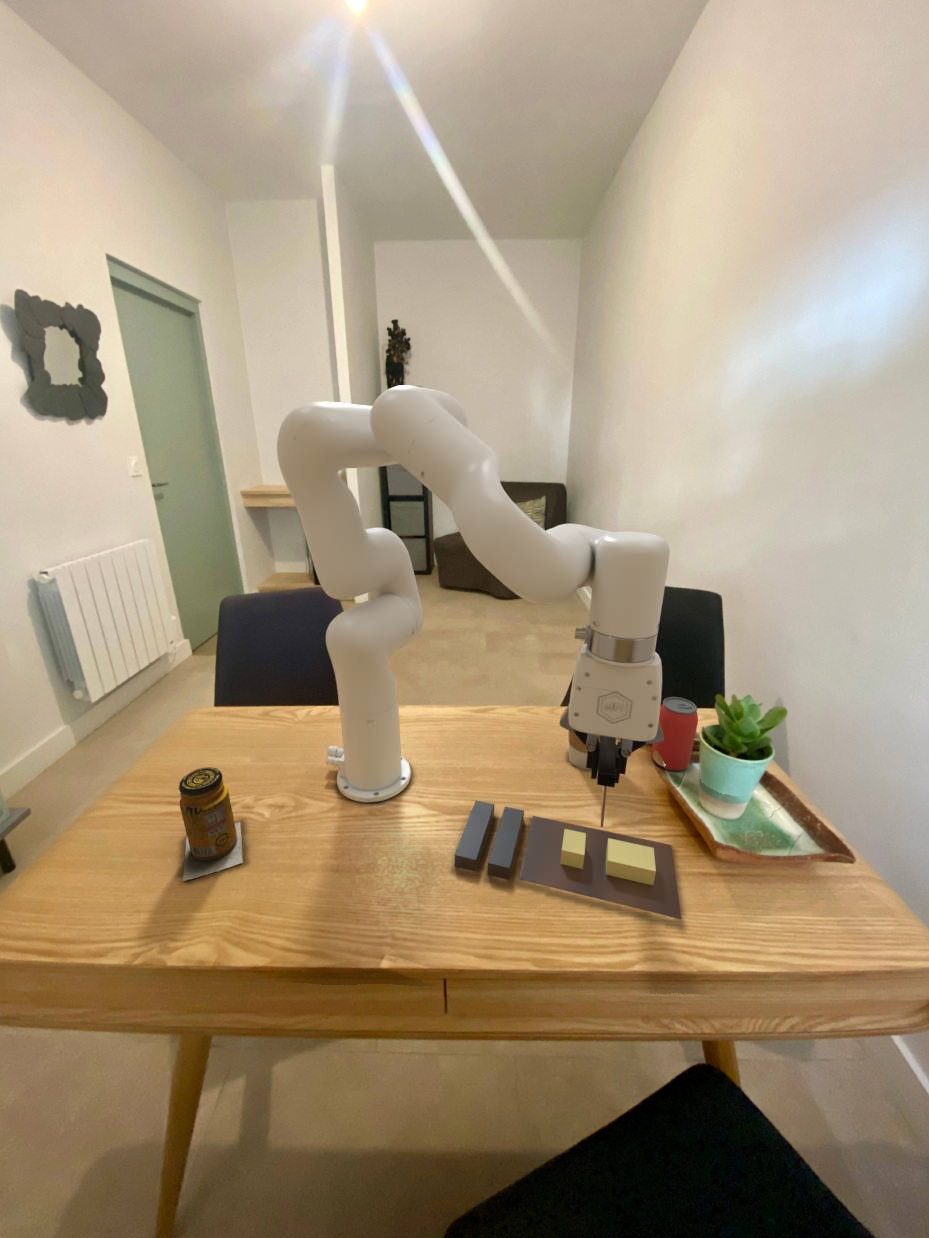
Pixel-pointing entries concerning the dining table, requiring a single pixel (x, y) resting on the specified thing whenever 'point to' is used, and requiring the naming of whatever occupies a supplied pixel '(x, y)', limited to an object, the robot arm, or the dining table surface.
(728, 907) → the dining table surface
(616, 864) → the butter
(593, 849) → the board
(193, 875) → the condiment
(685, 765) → the beer can
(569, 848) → the butter slice
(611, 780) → the cleaver
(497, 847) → the stand
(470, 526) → the robot arm
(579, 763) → the coffee cup
